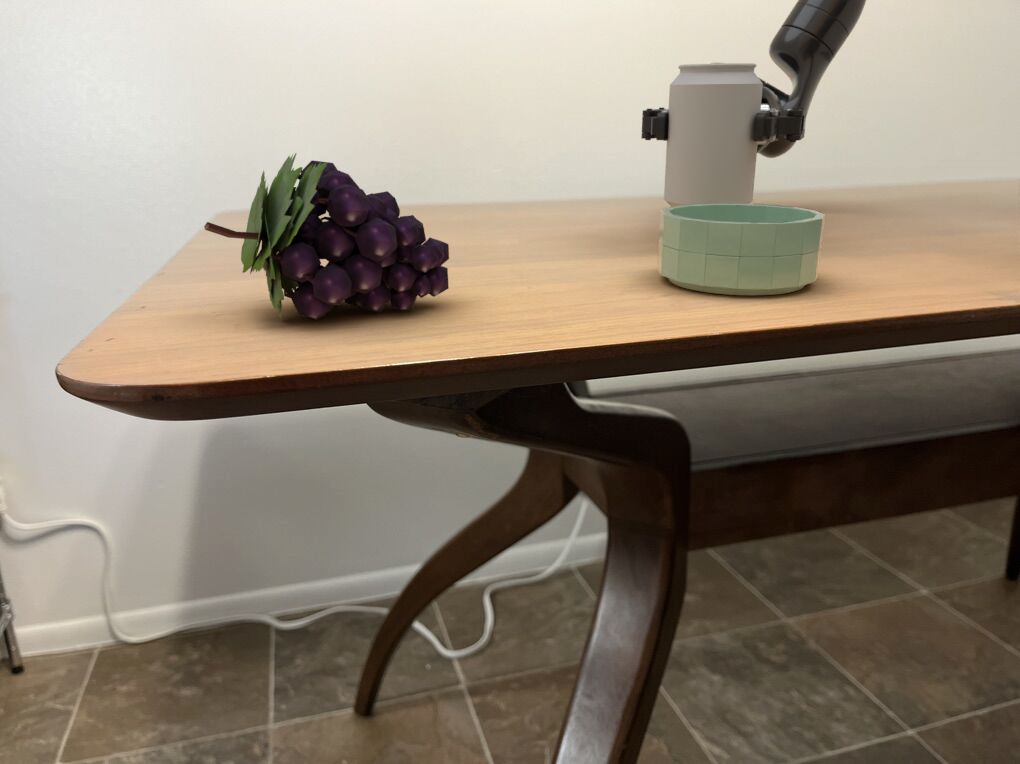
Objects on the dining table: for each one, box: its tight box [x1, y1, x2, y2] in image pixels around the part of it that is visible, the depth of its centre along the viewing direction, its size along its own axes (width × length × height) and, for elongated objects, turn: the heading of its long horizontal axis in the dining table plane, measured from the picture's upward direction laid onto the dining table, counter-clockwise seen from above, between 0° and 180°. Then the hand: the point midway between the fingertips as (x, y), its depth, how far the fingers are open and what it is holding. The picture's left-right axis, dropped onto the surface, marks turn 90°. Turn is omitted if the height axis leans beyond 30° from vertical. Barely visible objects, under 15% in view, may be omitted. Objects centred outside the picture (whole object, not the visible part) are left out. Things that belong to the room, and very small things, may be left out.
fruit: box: [203, 152, 450, 321], centre depth 51 cm, size 10×11×15 cm
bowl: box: [657, 203, 826, 297], centre depth 59 cm, size 11×11×5 cm
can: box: [663, 62, 763, 207], centre depth 69 cm, size 8×8×12 cm
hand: (709, 127), depth 67 cm, fingers closed on can, 7 cm apart
